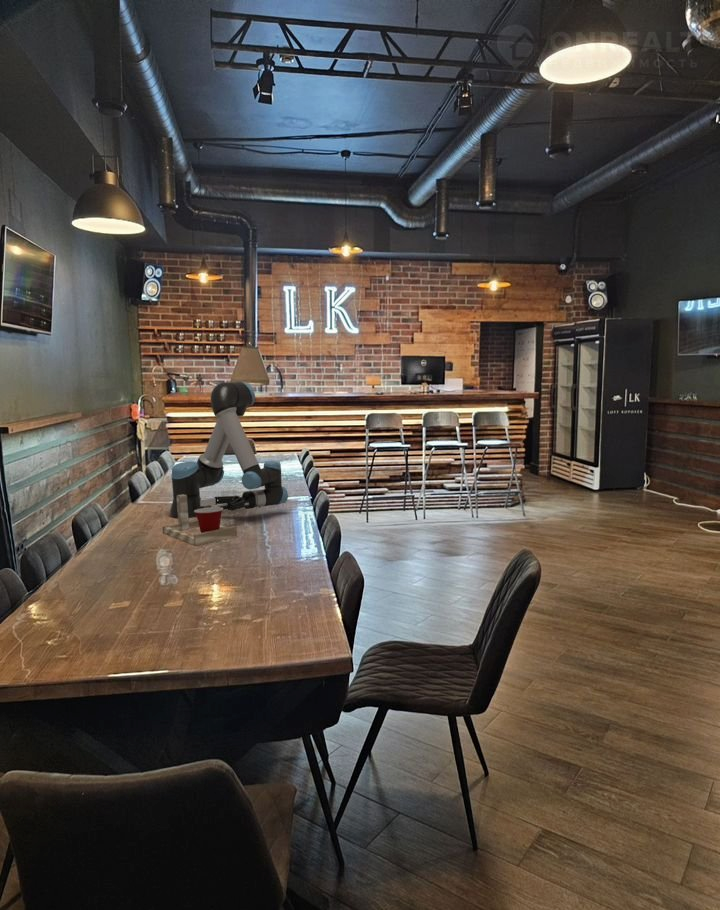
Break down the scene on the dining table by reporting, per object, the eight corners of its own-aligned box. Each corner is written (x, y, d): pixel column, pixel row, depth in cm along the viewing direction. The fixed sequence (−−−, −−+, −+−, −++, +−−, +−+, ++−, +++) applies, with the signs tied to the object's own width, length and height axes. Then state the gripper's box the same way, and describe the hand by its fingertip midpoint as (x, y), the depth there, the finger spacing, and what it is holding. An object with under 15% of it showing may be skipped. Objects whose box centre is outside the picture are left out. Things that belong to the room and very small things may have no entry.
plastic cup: (223, 534, 230) (221, 504, 228) (226, 541, 220) (225, 509, 218) (194, 537, 226) (192, 507, 225) (197, 544, 216) (195, 512, 215)
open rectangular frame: (162, 532, 234) (159, 498, 232) (201, 524, 245) (199, 491, 244) (196, 546, 213) (194, 508, 211) (237, 536, 225) (235, 501, 223)
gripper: (265, 513, 244) (216, 520, 233) (242, 502, 265) (196, 509, 254) (264, 495, 243) (215, 502, 232) (242, 486, 264) (195, 492, 253)
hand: (205, 506), depth 243 cm, fingers open, 13 cm apart
